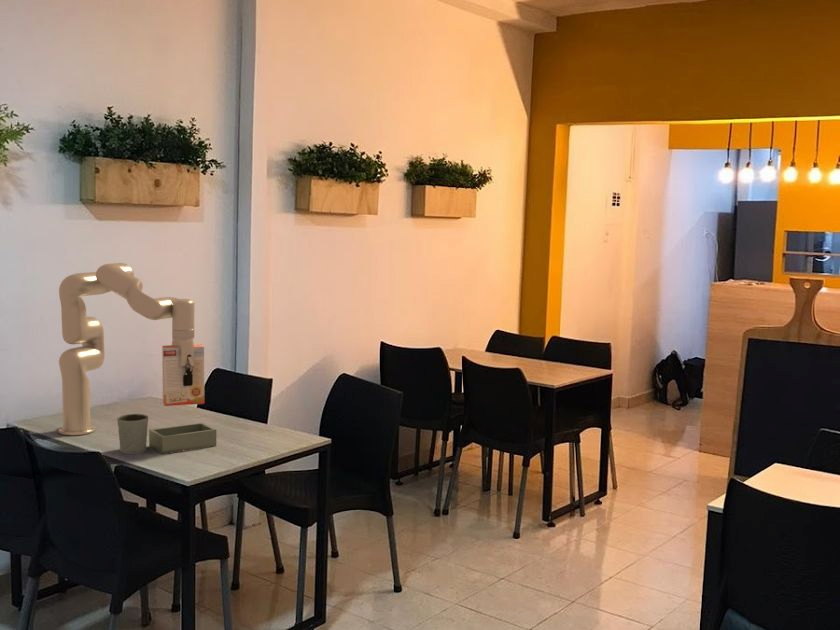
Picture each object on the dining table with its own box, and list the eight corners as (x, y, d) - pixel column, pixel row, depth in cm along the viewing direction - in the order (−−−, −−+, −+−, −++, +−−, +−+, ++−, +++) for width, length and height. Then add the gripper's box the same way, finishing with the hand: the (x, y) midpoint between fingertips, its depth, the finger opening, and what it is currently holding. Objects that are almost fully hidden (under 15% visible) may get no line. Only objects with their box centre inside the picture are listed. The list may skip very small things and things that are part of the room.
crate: (149, 446, 301) (149, 429, 300) (202, 438, 313) (202, 422, 312) (162, 454, 291) (162, 437, 291) (216, 445, 304) (216, 429, 303)
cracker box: (202, 400, 306) (202, 343, 303) (204, 404, 300) (204, 346, 298) (162, 402, 301) (162, 344, 298) (163, 406, 295) (163, 347, 293)
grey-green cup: (150, 446, 300) (150, 413, 299) (145, 454, 290) (145, 420, 289) (120, 446, 298) (120, 413, 297) (114, 454, 289) (114, 420, 287)
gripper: (163, 331, 302) (163, 380, 304) (183, 338, 288) (183, 389, 290) (183, 330, 307) (183, 378, 309) (203, 336, 293) (203, 387, 295)
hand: (183, 383), depth 300 cm, fingers closed on cracker box, 7 cm apart
